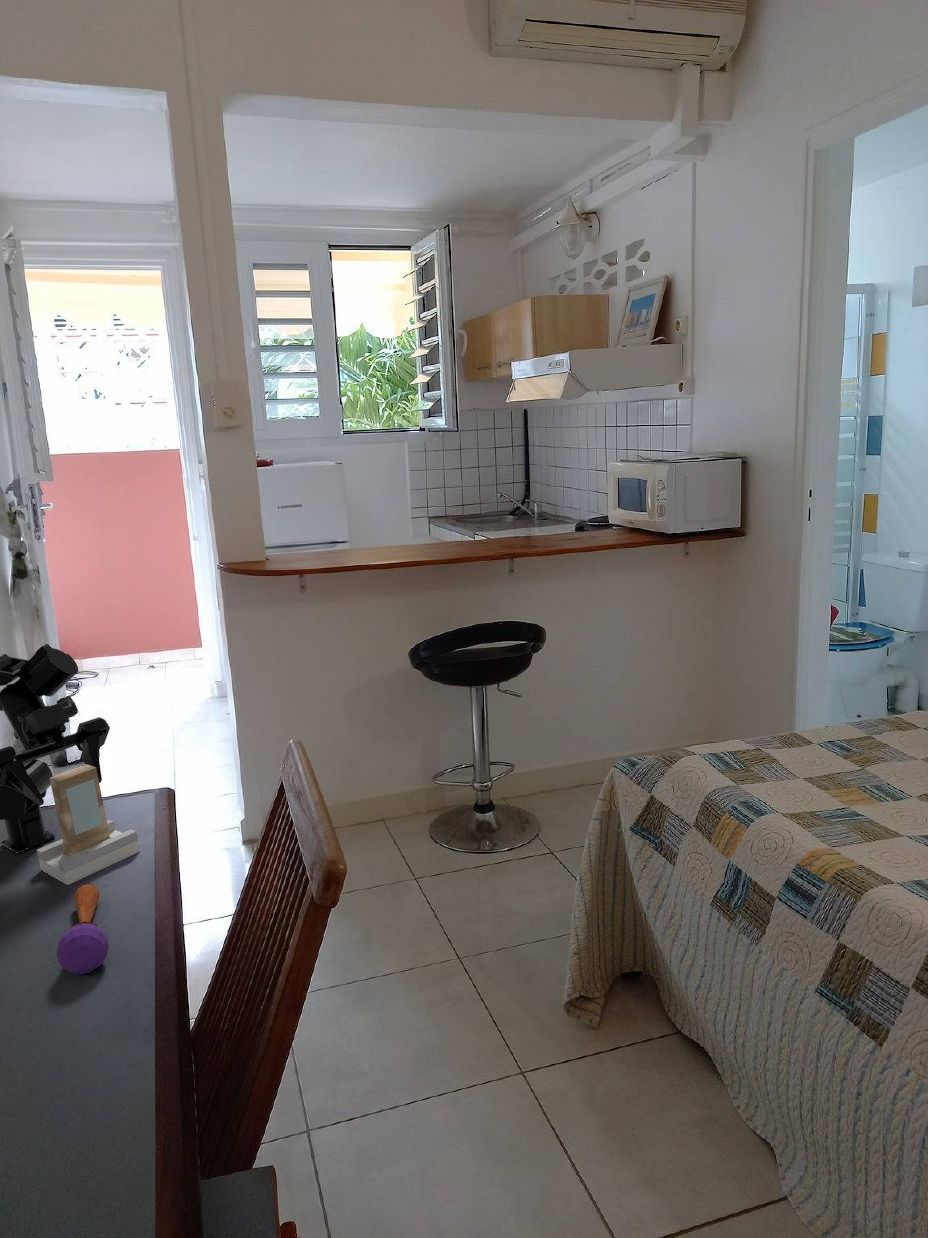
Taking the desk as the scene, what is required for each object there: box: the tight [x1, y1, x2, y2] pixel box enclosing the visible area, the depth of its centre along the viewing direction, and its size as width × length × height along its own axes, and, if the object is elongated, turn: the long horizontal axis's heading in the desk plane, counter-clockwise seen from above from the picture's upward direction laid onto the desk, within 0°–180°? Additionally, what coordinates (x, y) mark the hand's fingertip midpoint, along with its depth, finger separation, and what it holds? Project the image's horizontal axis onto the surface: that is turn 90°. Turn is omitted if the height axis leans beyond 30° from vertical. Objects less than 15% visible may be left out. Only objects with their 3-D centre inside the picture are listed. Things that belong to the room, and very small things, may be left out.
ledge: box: [36, 818, 141, 886], centre depth 138 cm, size 9×12×4 cm
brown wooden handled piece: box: [55, 883, 110, 975], centre depth 115 cm, size 6×6×20 cm
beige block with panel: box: [50, 764, 111, 856], centre depth 136 cm, size 4×6×13 cm, turn 140°
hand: (72, 792), depth 136 cm, fingers open, 9 cm apart
